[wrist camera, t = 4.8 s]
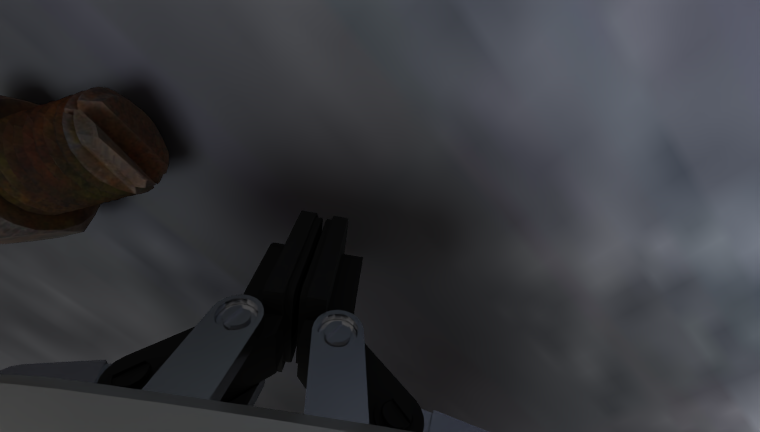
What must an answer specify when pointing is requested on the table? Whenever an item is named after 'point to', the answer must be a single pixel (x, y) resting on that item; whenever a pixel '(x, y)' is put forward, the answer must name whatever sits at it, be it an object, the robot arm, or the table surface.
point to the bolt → (72, 161)
